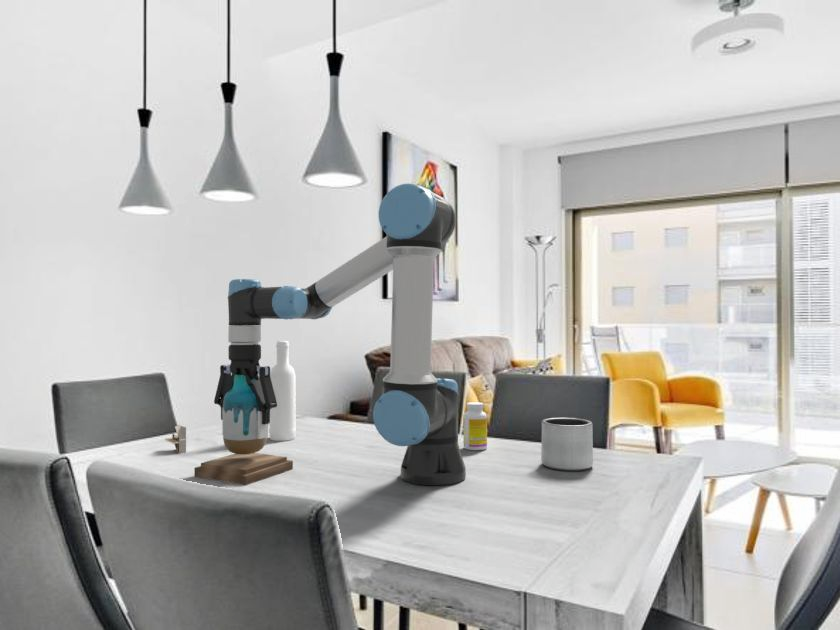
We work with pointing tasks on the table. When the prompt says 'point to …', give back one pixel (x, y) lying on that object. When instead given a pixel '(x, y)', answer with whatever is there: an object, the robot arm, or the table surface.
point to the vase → (241, 419)
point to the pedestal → (243, 468)
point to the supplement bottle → (475, 427)
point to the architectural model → (179, 439)
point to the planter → (567, 444)
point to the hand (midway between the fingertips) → (245, 435)
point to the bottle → (283, 396)
